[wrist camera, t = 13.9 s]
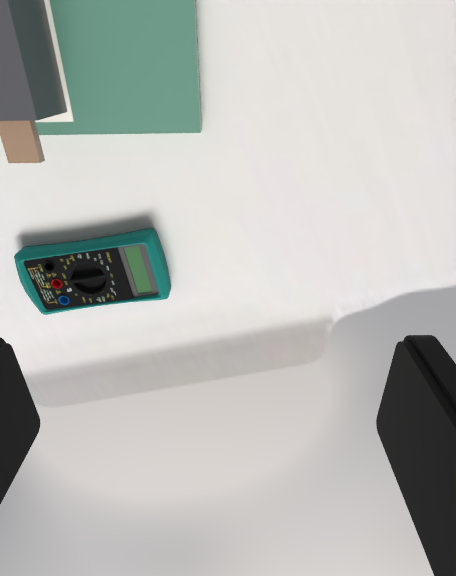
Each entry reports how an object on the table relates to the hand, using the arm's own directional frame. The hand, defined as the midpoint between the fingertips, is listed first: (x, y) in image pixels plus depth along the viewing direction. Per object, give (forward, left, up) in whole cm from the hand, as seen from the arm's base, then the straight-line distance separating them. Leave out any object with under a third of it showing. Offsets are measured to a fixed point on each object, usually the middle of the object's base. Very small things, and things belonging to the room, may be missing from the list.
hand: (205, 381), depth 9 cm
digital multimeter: (+14, +12, -29) cm, 34 cm away
